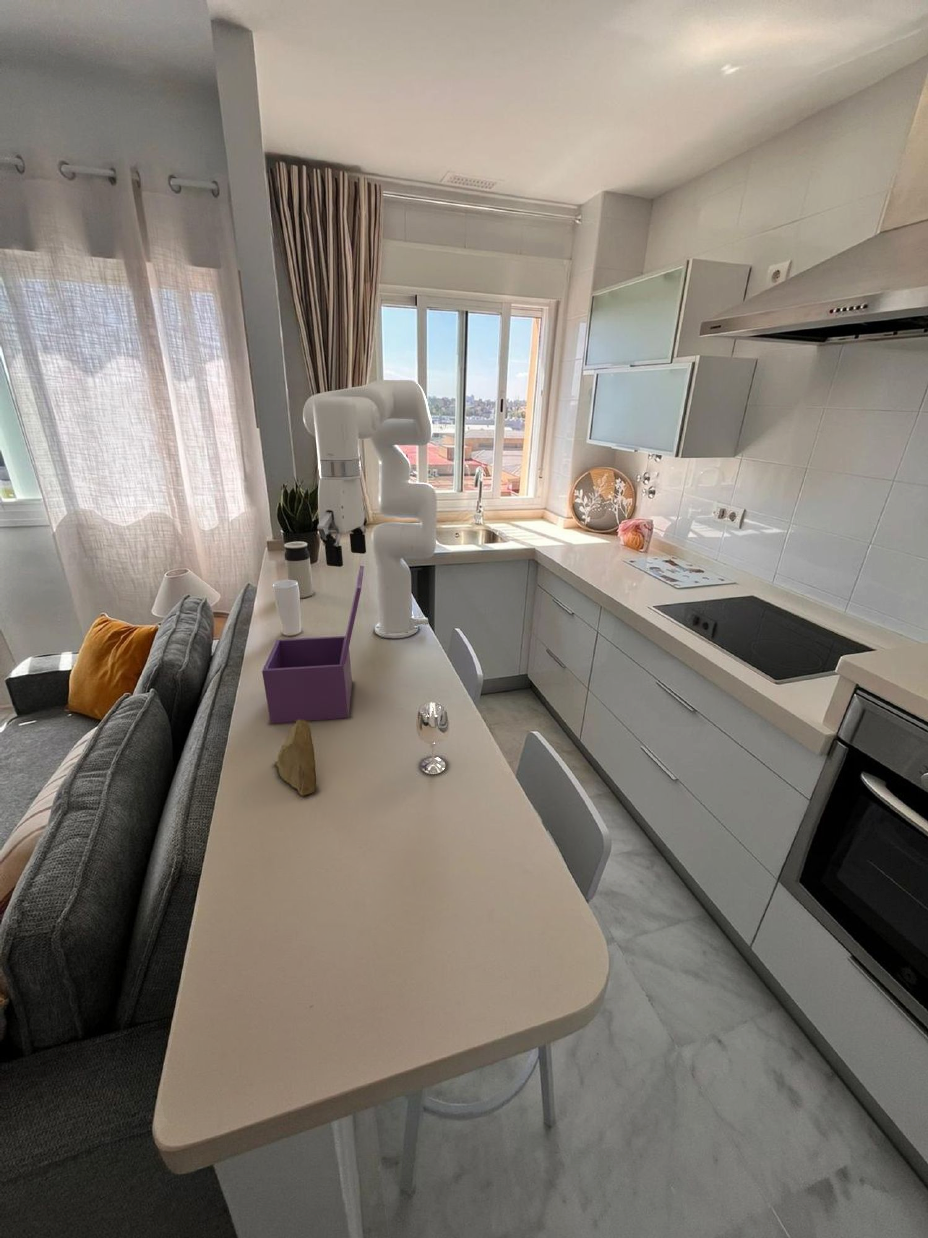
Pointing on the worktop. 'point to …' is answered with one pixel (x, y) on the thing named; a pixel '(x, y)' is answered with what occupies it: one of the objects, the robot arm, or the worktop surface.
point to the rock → (298, 759)
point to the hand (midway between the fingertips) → (347, 559)
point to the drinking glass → (288, 606)
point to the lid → (352, 614)
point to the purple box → (307, 680)
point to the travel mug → (299, 567)
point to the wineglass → (432, 733)
